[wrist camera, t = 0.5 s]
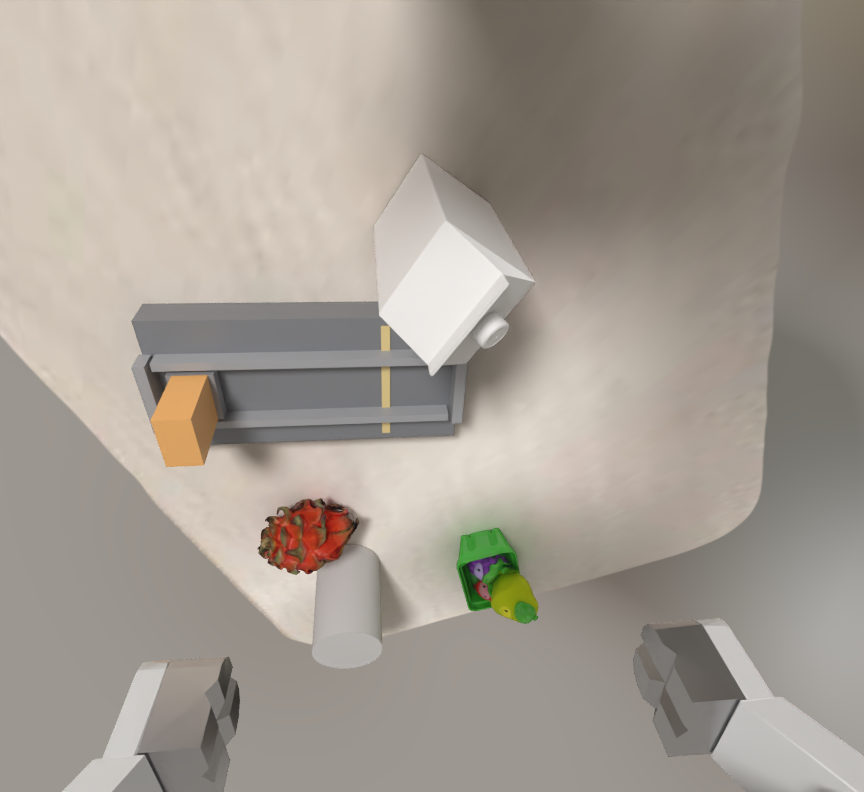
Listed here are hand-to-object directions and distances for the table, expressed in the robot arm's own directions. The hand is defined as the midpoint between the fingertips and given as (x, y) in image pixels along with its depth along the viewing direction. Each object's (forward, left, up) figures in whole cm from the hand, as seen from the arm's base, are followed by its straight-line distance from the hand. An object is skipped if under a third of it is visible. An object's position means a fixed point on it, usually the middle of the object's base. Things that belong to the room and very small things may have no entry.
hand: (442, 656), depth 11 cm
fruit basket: (+51, +14, -40) cm, 66 cm away
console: (+20, -7, -40) cm, 45 cm away
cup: (+52, -5, -40) cm, 66 cm away
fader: (+20, -17, -36) cm, 45 cm away
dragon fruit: (+41, -9, -40) cm, 58 cm away
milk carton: (+5, +4, -40) cm, 41 cm away
